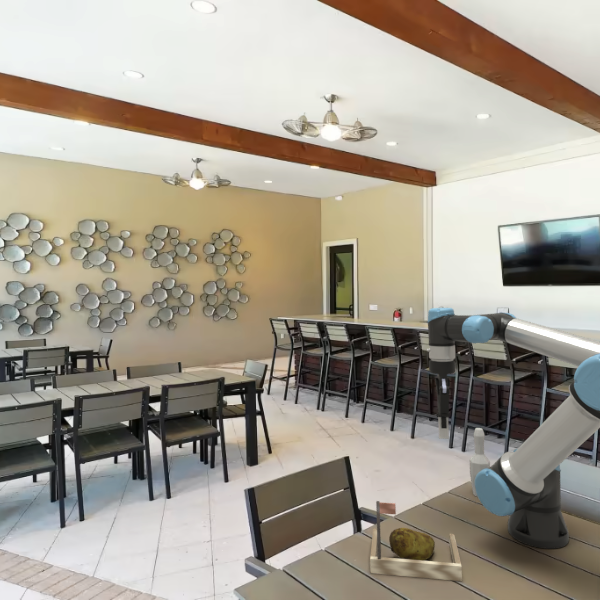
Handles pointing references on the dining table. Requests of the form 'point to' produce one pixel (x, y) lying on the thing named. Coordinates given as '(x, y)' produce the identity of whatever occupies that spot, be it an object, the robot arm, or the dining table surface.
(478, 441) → the low poly bottle
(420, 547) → the potato
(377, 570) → the wooden tray with flag
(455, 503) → the dining table surface
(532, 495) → the robot arm
